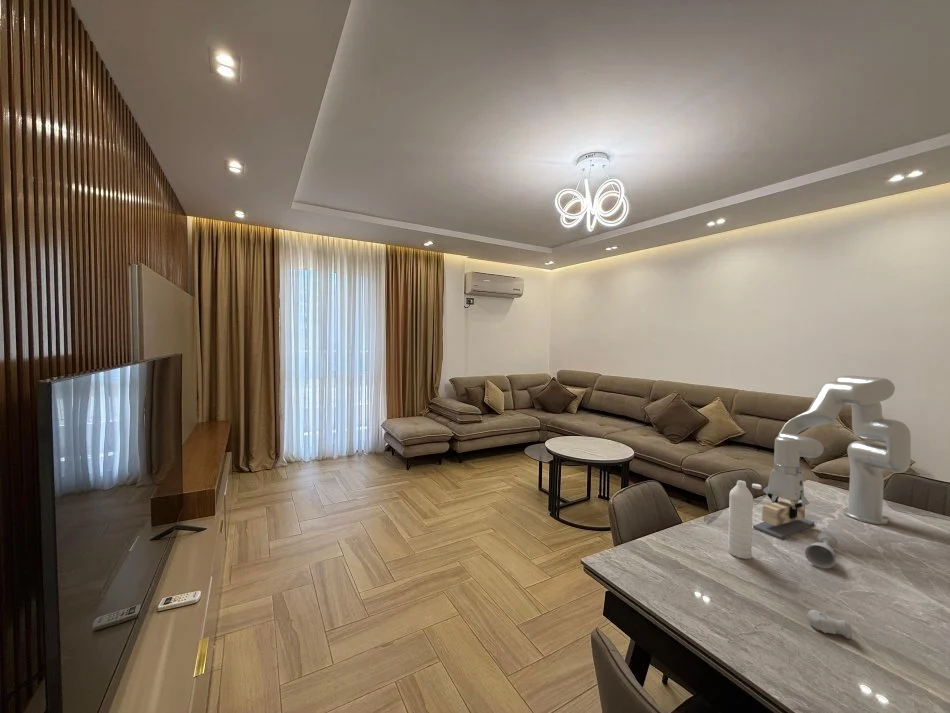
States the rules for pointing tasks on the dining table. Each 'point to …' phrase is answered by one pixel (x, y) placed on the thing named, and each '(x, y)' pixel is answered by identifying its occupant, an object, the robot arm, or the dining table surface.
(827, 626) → the smooth white sculpture
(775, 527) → the tool pad
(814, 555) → the chalice
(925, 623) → the dining table surface
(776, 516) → the grooved wooden block
